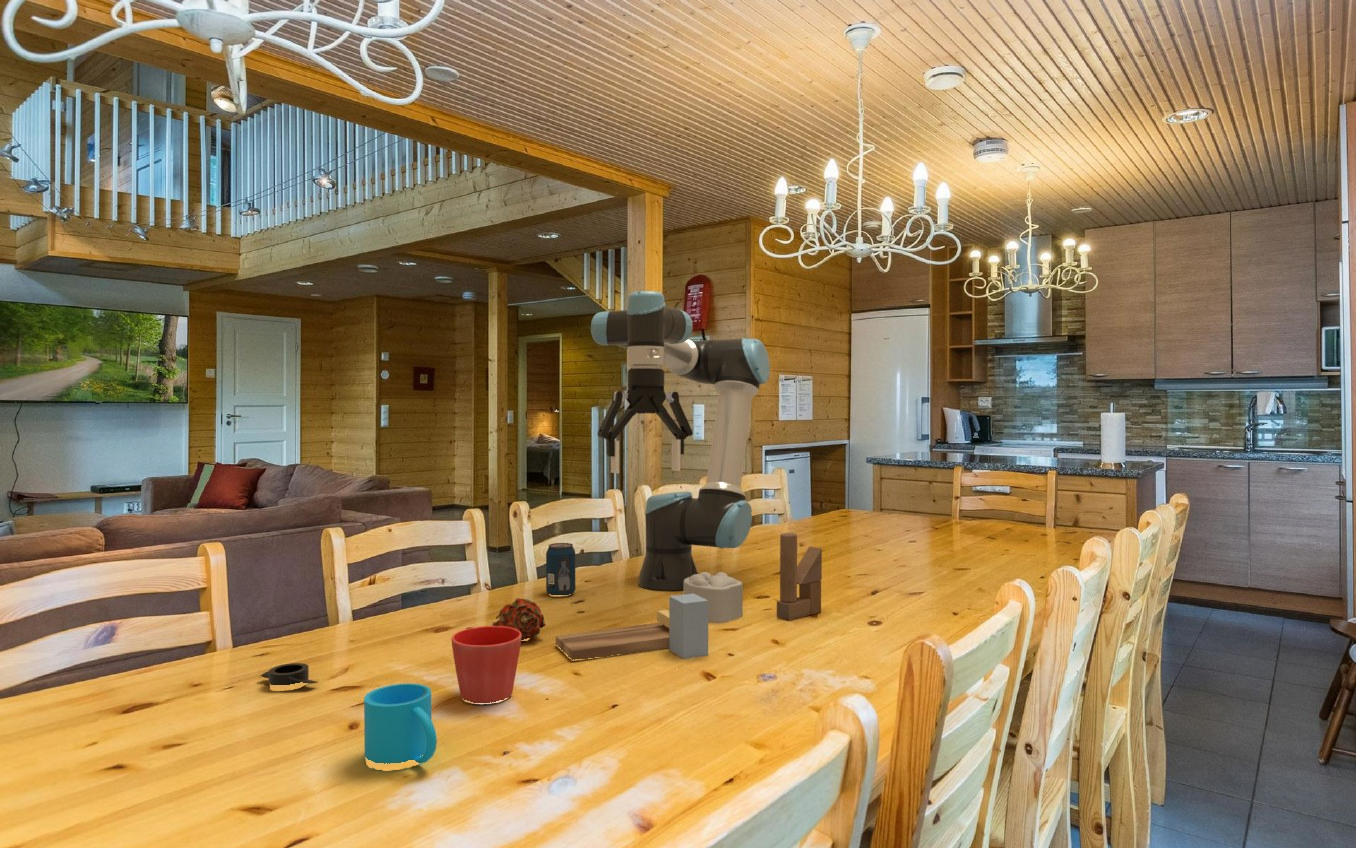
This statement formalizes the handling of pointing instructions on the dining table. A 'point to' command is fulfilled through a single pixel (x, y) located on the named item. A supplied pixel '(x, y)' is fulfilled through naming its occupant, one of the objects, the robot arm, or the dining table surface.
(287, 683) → the black winged ring
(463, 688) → the flower pot
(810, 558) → the wooden block
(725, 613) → the paw mold
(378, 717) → the mug
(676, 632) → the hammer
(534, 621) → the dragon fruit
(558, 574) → the soda can
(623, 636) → the board
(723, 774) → the dining table surface
